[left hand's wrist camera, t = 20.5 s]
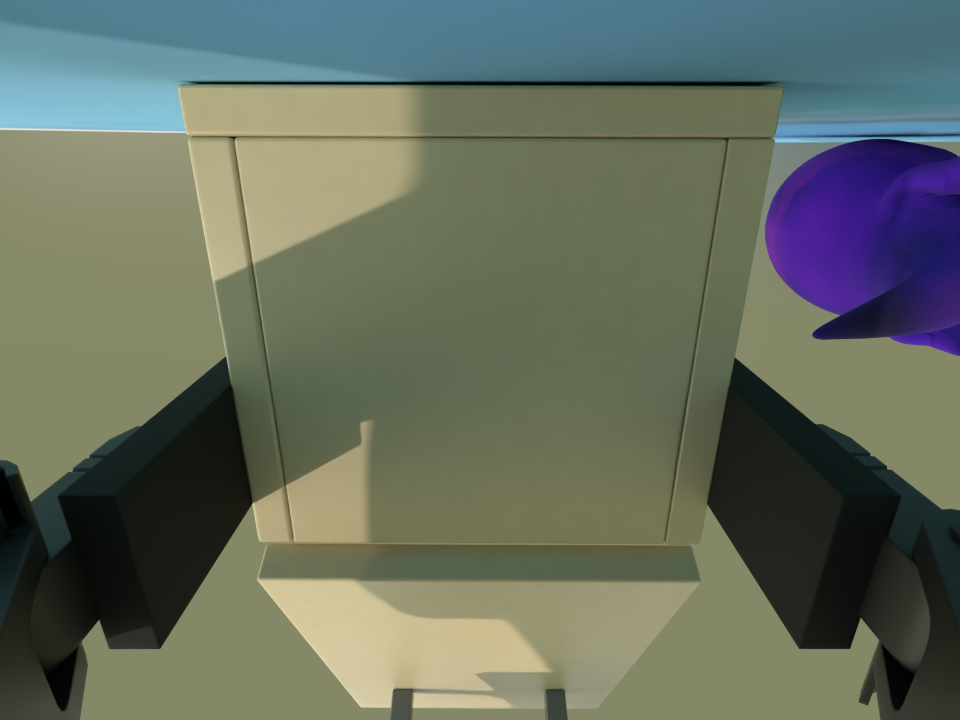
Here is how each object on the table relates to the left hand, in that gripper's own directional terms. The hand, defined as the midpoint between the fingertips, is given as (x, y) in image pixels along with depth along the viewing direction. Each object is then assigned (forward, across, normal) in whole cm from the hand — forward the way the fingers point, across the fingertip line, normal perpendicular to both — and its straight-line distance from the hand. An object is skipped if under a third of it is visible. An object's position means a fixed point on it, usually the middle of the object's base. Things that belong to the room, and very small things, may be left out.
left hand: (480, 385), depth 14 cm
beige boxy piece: (0, 0, +9) cm, 9 cm away
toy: (+33, -33, -6) cm, 47 cm away
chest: (+3, 0, -6) cm, 7 cm away
